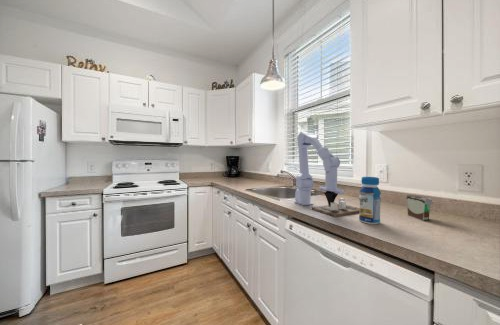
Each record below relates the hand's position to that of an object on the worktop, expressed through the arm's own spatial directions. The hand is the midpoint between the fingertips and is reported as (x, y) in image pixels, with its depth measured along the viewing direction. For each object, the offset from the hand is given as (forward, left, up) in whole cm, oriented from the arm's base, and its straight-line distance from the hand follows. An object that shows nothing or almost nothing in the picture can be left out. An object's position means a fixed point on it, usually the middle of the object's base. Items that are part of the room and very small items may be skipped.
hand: (330, 206), depth 107 cm
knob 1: (+2, 0, -1) cm, 2 cm away
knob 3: (+2, +7, -1) cm, 7 cm away
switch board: (-1, +7, -3) cm, 7 cm away
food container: (+26, +32, -4) cm, 41 cm away
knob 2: (-4, +13, -1) cm, 14 cm away
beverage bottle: (+19, +4, -4) cm, 19 cm away
